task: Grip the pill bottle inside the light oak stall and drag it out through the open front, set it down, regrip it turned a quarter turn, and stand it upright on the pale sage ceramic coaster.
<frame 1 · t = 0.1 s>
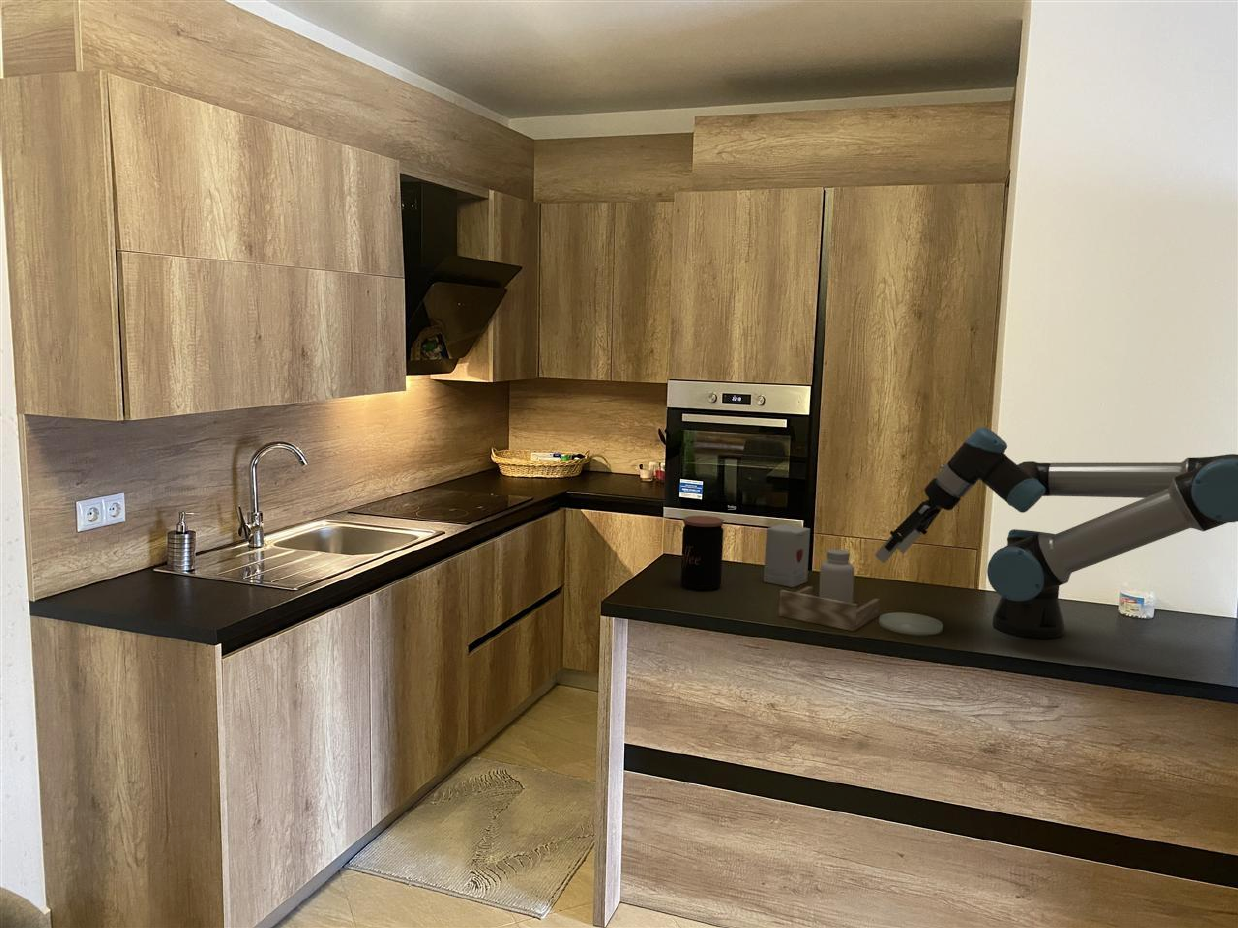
hand: (889, 554, 216), 15 cm above the table, tool tilted 35°, fingers open, 13 cm apart
coffee jar: (700, 587, 242), on the table
sage coaster: (910, 626, 212), on the table
pill bottle: (834, 613, 222), on the table
oak stall: (830, 614, 219), on the table
supplement box: (785, 582, 250), on the table
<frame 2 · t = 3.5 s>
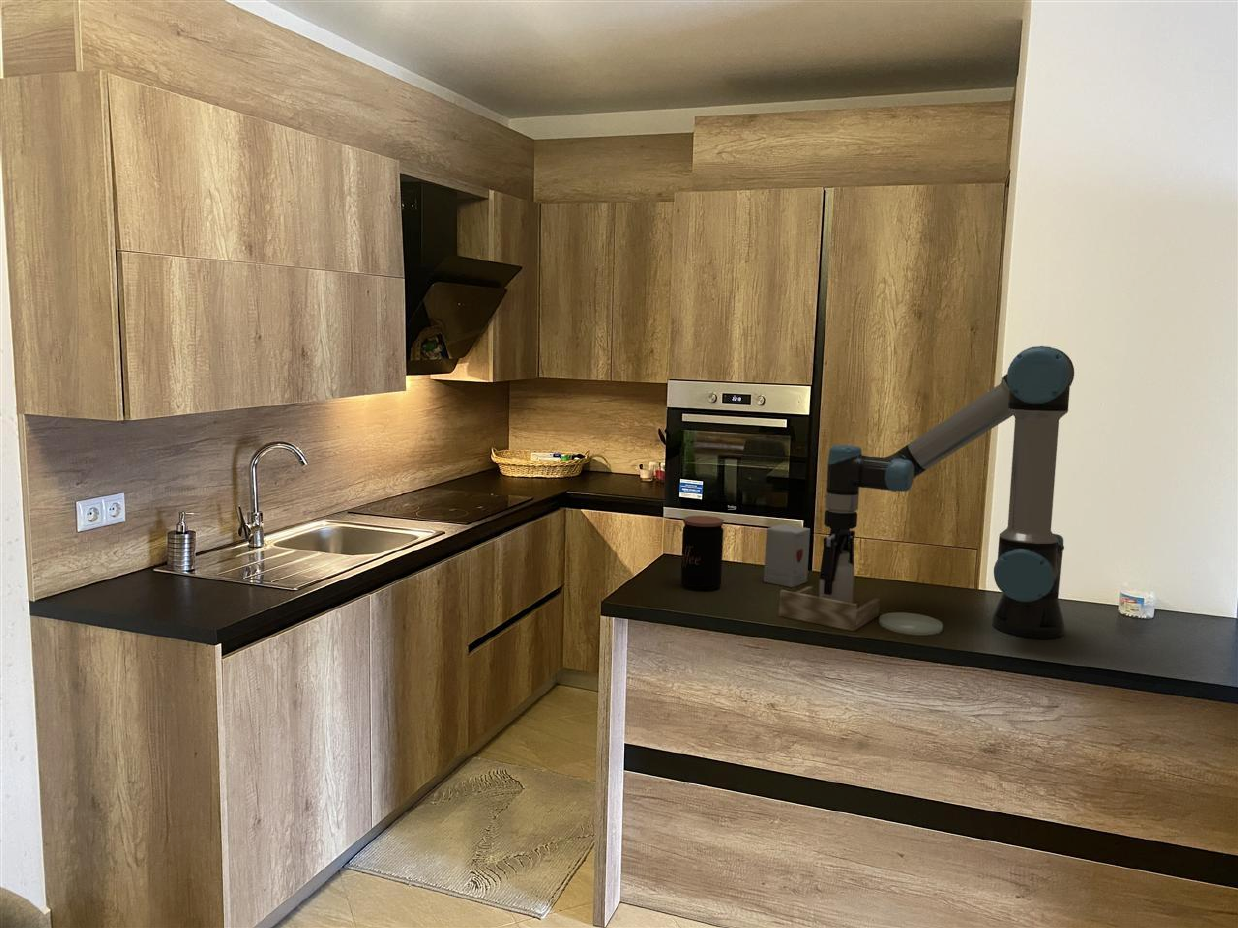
hand: (835, 603, 222), 2 cm above the table, tool pointing down, fingers closed on pill bottle, 8 cm apart
pill bottle: (834, 613, 222), on the table, touching gripper
everything else where it was.
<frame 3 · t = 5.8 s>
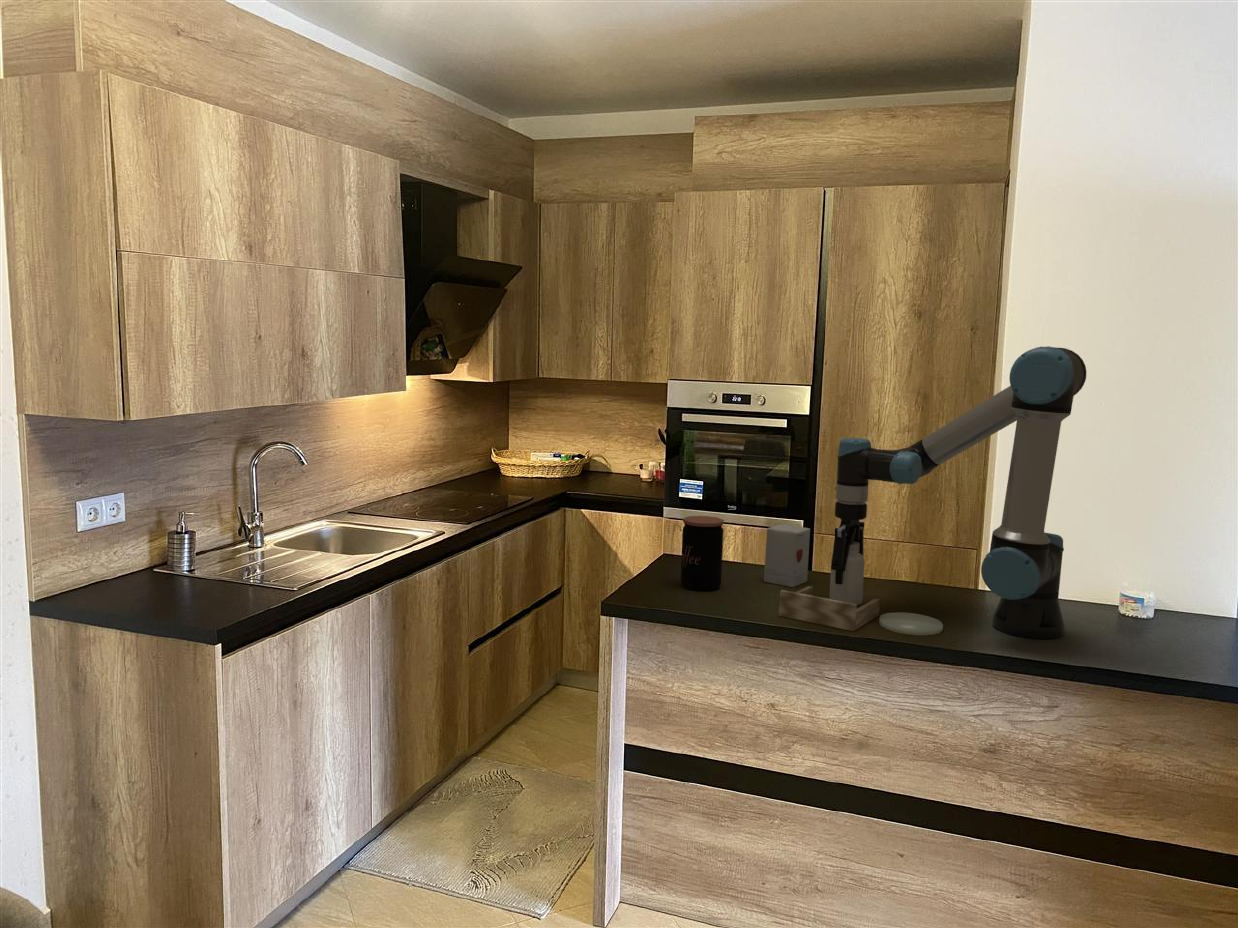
hand: (845, 592, 226), 4 cm above the table, tool pointing down, fingers closed on pill bottle, 8 cm apart
pill bottle: (845, 602, 226), point 1 cm above the table, touching gripper
everything else where it was.
when the fingers open (3 cm above the table, at t = 8.4 s): pill bottle stays where it is, on the table.
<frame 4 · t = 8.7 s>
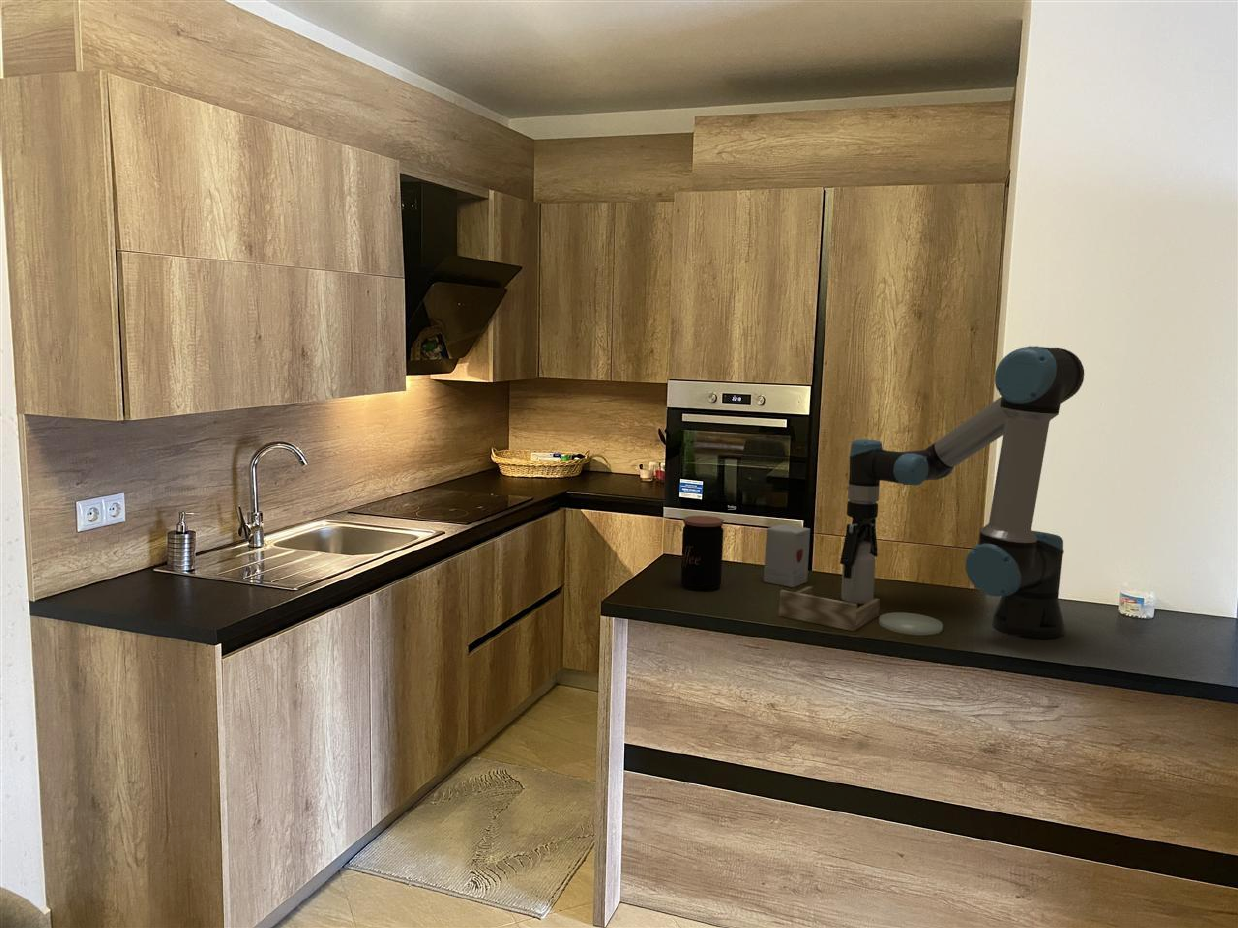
hand: (857, 585, 233), 4 cm above the table, tool pointing down, fingers open, 12 cm apart
pill bottle: (856, 601, 233), on the table
everything else where it was.
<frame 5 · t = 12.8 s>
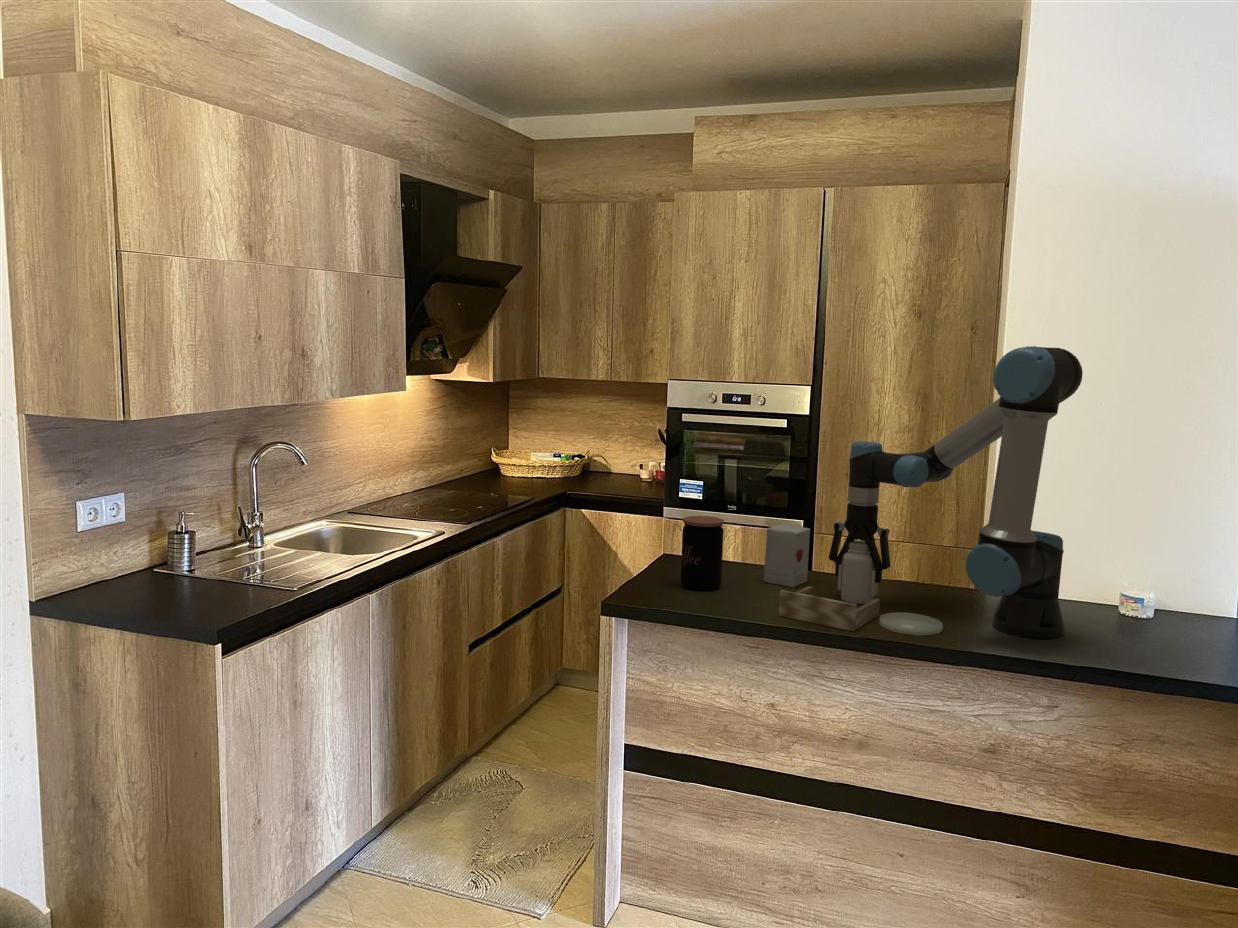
hand: (857, 591, 233), 2 cm above the table, tool pointing down, fingers closed on pill bottle, 8 cm apart
pill bottle: (856, 601, 233), on the table, touching gripper
everything else where it was.
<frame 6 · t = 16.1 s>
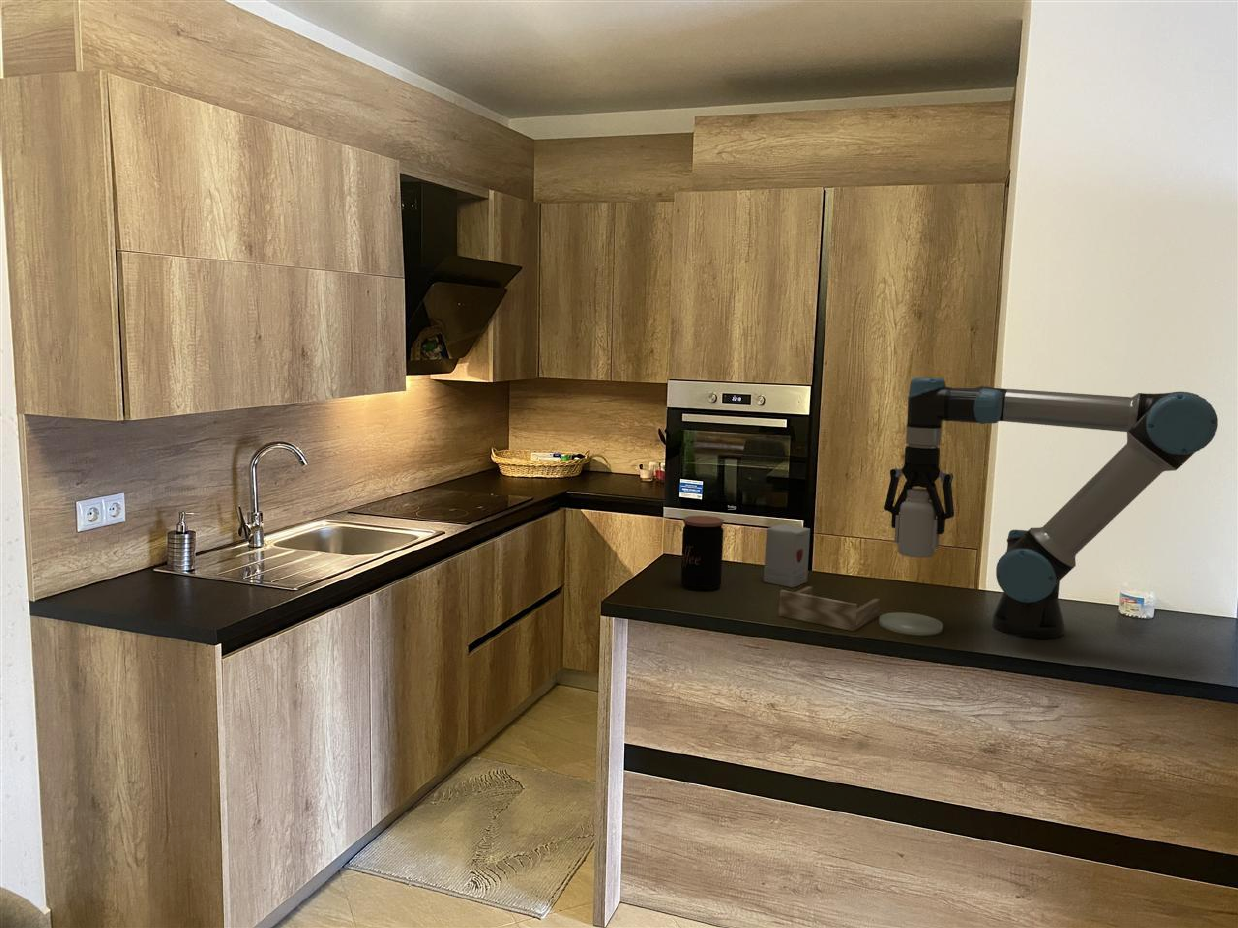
hand: (916, 544, 210), 19 cm above the table, tool pointing down, fingers closed on pill bottle, 8 cm apart
pill bottle: (915, 555, 210), point 17 cm above the table, touching gripper
everything else where it was.
when the fingers open (5 cm above the table, at t = 19.3 s): pill bottle drops 1 cm, resting on sage coaster.
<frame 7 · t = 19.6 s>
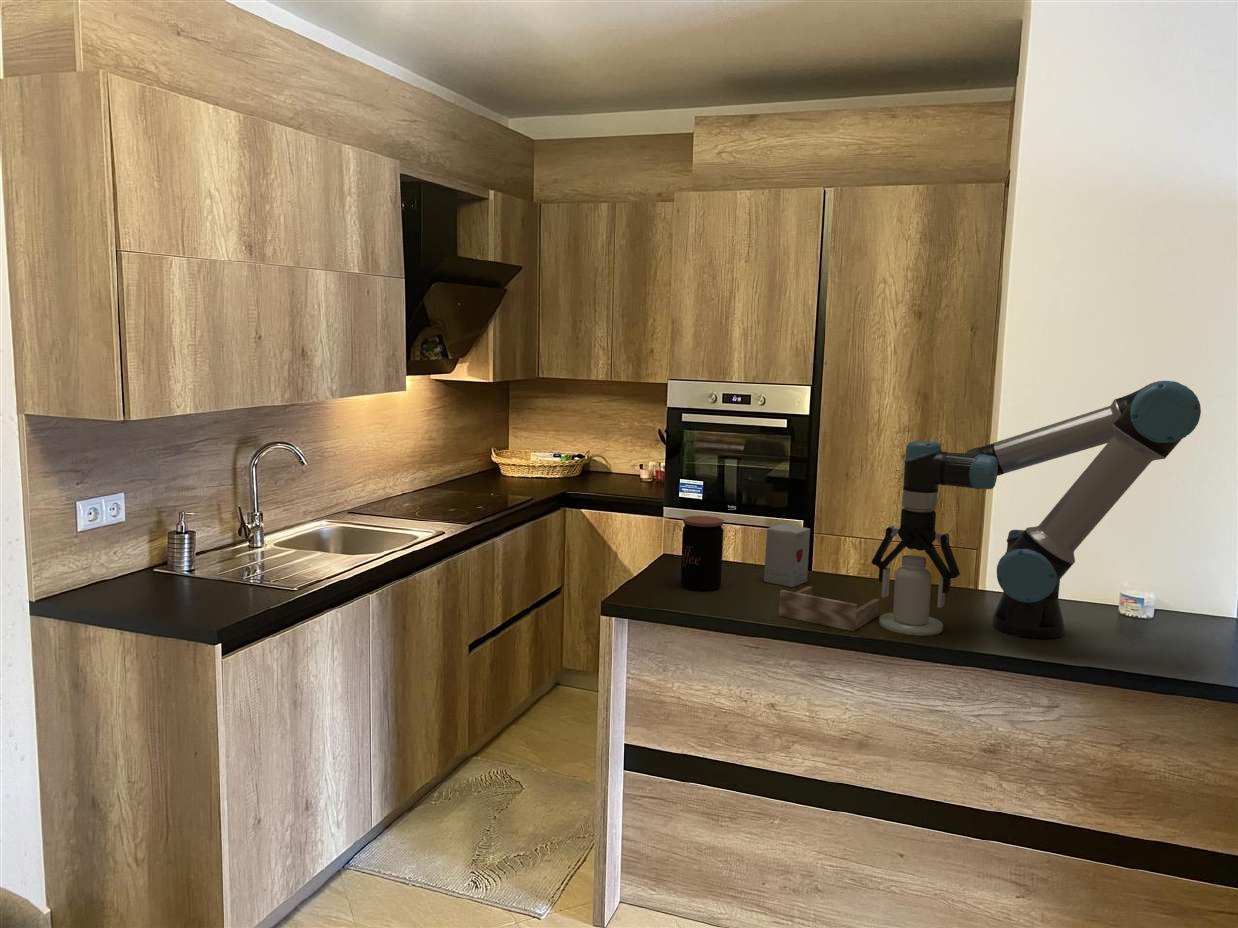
hand: (912, 601, 212), 6 cm above the table, tool pointing down, fingers open, 12 cm apart
pill bottle: (910, 621, 212), point 1 cm above the table, touching sage coaster
everything else where it was.
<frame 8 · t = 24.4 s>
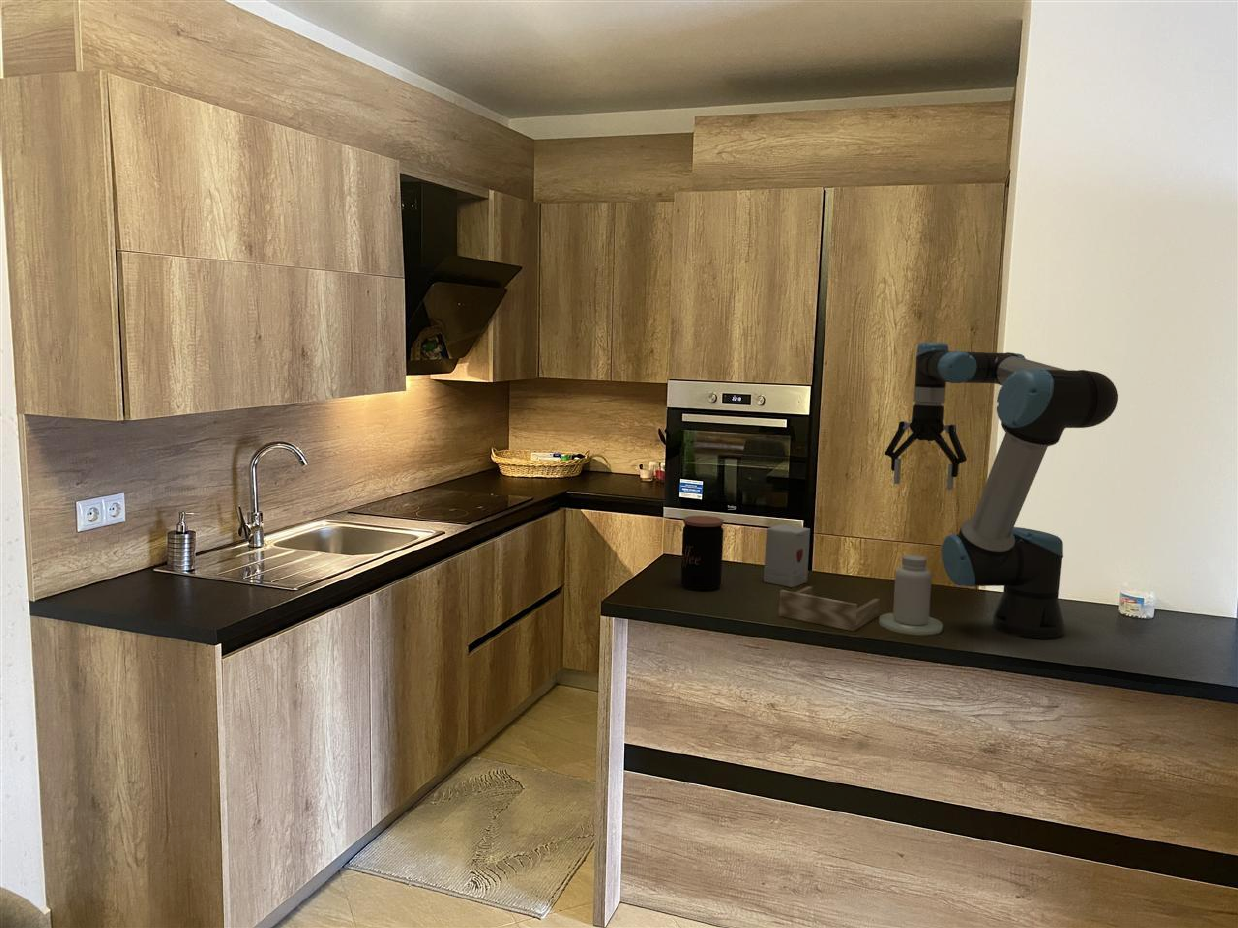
hand: (922, 486, 236), 29 cm above the table, tool pointing down, fingers open, 13 cm apart
nothing on the table moved.
at the end: pill bottle inside the target area on the sage coaster (0.1 cm from its centre), point 1.0 cm above the sage coaster's base; pill bottle tilted 0°; the gripper is holding nothing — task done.
